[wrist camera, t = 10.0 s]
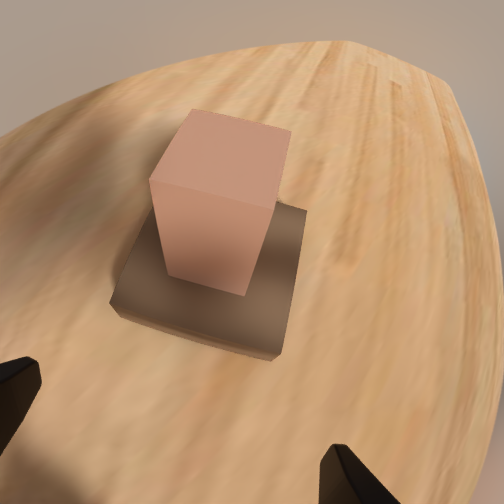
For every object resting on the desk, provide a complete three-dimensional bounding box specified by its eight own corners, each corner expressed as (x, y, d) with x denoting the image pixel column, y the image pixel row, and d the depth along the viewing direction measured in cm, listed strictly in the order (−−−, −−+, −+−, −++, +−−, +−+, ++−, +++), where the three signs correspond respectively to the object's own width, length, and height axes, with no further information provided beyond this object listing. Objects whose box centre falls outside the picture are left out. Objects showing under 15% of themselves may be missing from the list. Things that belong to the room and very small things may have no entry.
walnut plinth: (271, 361, 20) (281, 353, 18) (120, 317, 20) (109, 302, 18) (296, 231, 26) (306, 210, 23) (171, 198, 26) (169, 174, 23)
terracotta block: (244, 296, 19) (274, 210, 11) (168, 275, 19) (148, 179, 11) (260, 231, 22) (291, 131, 14) (192, 213, 22) (191, 108, 14)
